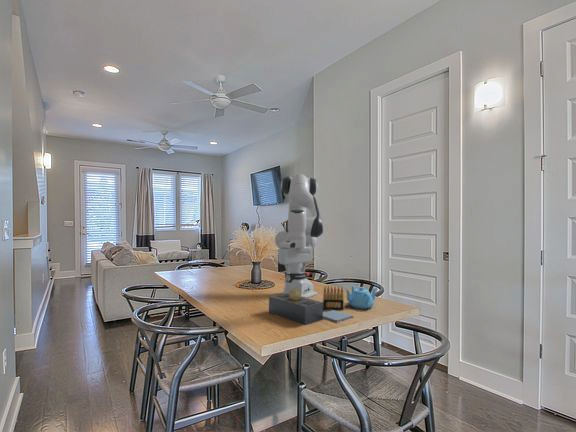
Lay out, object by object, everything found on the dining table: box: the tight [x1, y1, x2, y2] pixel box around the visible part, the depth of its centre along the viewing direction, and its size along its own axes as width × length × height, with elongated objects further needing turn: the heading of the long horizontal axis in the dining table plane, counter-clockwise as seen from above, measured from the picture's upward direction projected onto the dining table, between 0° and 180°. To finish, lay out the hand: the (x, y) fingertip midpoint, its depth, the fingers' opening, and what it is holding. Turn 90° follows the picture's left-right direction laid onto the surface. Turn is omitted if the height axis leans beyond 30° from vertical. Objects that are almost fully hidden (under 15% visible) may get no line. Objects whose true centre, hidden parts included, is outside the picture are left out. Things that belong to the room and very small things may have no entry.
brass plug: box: [289, 289, 301, 301], centre depth 153 cm, size 4×4×8 cm
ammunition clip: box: [322, 285, 345, 311], centre depth 167 cm, size 11×2×12 cm, turn 91°
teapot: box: [344, 284, 378, 310], centre depth 174 cm, size 15×15×10 cm
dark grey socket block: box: [268, 293, 324, 326], centre depth 153 cm, size 12×24×8 cm, turn 44°
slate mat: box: [323, 310, 354, 323], centre depth 153 cm, size 12×12×1 cm
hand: (295, 272), depth 153 cm, fingers open, 8 cm apart
